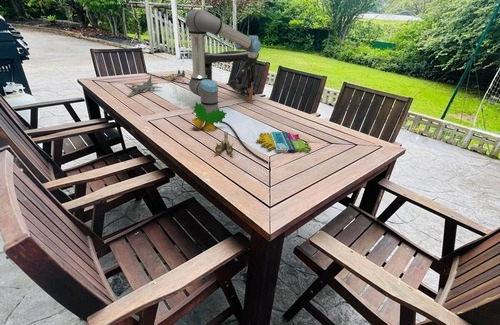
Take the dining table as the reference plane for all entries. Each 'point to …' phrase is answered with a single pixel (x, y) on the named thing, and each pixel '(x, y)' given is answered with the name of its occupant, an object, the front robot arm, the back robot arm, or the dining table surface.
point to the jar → (250, 94)
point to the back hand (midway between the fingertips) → (251, 94)
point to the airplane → (143, 87)
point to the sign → (283, 142)
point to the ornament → (207, 117)
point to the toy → (174, 76)
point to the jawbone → (224, 145)
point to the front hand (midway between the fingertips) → (250, 87)
